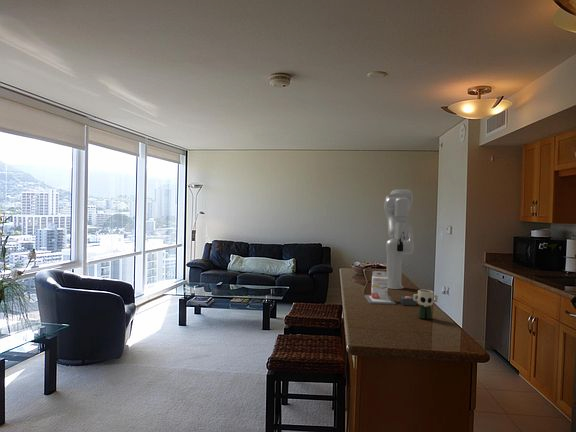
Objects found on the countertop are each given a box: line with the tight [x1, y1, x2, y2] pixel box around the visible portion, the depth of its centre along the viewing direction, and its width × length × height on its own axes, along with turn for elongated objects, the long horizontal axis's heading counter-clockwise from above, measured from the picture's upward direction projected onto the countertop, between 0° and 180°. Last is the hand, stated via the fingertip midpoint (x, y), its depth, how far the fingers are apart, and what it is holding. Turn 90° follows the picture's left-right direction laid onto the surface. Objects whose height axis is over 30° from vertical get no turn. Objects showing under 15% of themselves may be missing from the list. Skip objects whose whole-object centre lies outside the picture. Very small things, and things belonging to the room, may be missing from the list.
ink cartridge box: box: [370, 270, 389, 299], centre depth 236 cm, size 9×5×15 cm, turn 86°
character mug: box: [413, 289, 439, 320], centre depth 198 cm, size 11×7×13 cm, turn 80°
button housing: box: [399, 295, 417, 307], centre depth 227 cm, size 7×7×4 cm
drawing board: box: [364, 294, 397, 305], centre depth 234 cm, size 18×14×1 cm
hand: (399, 251), depth 242 cm, fingers closed
